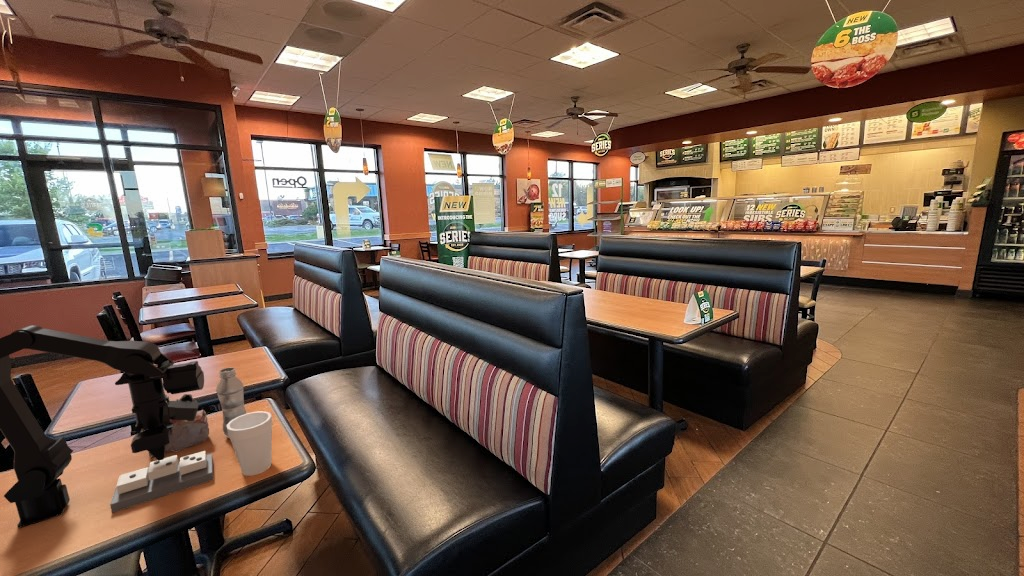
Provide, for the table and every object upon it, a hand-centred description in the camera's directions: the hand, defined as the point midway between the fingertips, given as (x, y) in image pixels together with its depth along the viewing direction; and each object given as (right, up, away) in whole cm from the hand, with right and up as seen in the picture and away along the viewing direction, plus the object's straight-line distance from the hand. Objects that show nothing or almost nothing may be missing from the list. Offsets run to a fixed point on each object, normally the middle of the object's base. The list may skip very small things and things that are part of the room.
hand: (161, 459), depth 98 cm
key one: (-4, -5, -2) cm, 7 cm away
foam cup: (+18, -5, +7) cm, 20 cm away
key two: (0, -3, +1) cm, 3 cm away
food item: (-10, -4, +18) cm, 21 cm away
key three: (+5, -3, +4) cm, 7 cm away
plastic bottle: (+3, -2, +23) cm, 23 cm away
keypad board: (0, -7, +1) cm, 7 cm away
